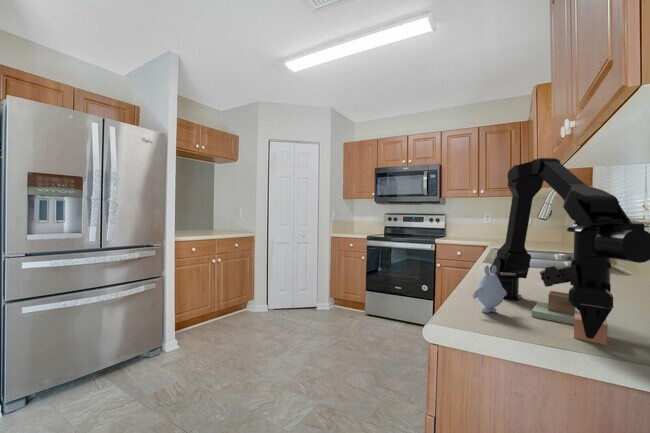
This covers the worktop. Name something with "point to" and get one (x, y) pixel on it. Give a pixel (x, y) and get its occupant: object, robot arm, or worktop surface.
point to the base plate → (552, 314)
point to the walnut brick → (560, 303)
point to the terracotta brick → (580, 333)
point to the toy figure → (490, 290)
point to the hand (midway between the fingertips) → (590, 331)
